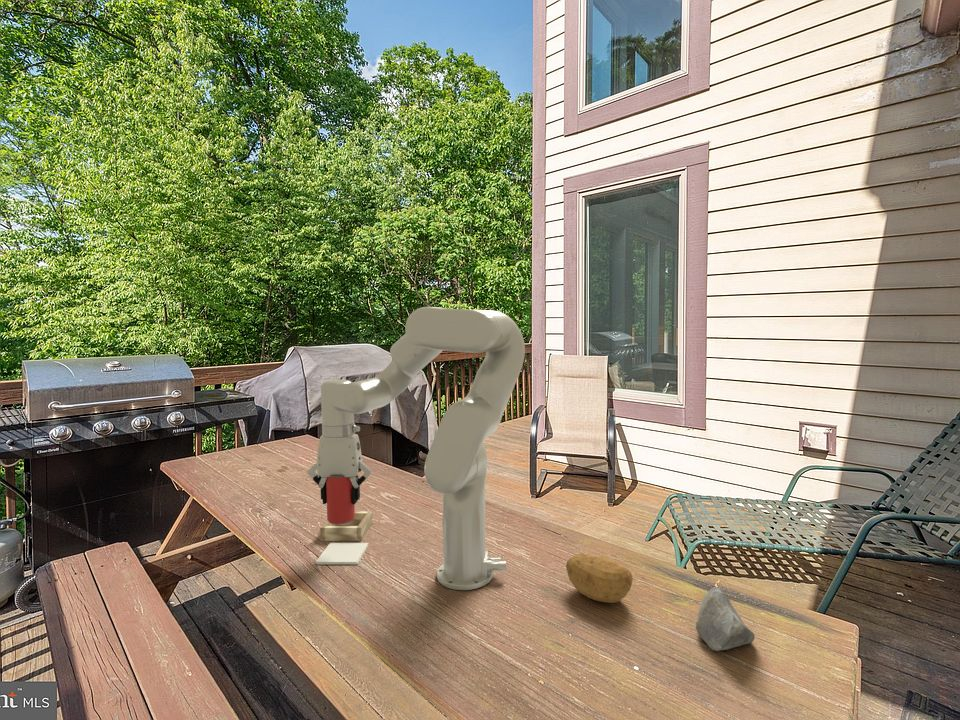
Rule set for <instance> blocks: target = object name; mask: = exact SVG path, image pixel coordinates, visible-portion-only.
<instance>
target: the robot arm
mask: <svg viewBox="0 0 960 720" xmlns="http://www.w3.org/2000/svg"><path fill="white" fill-rule="evenodd" d="M404 327H405V329H404V330H405V333H404V334H403V335H402V336H401V337H400V338H398V340H396V342H394V343H393V344H392V345H391V347H390V349H389V350H390V351H389V353H390V357H391V361H390V363H389V364H387V366H386V367H385V368H384V369H383V370H381V372H380V373H378V374H377V375H376V376H375V377H371V378H367V379H362V380H358V381H353V382H352V381H351V380H348V379H343V378H342V379H339V378H338V379H328V380H324V381H323V382H322V383H321V385H320V404H321V405H320V406H321V407H320V408H321V434H322V435H321V436H319V439H318V448H317V457H316V458H317V459H316V463H314V465H313V466H311V467H310V468H309V469H308V470H307V471H306V473H307V475H308V476H309V477H310V478H311V479H312V480H313V482H314V483H316V484H317V485H318V488H320V499H321V500H322V505H327V496H326V481H327V478H328V477H330V475H332V476H342V475H344V477H347V478H349V479H350V481H351V483H352V485H353V488H352V489H351V495H352V504H354V505H356V503H357V502H358V501H359V500H360V498H361V488H360V487H361V485H362V484H363V483H364V482H365V481H366V479H368V477H369V476H370V475H371V474H372V472H373V470H372V468H370V467H369V465H367V464H366V463H365V462H364V461H363V456H362V449H361V443H360V437H359V435H358V434H356V433H357V432H361V426H360V425H356V423H355V415H360V414H364V413H369V412H371V411H373V410H377V409H380V408H383V407H385V406H387V405H389V404H390V403H392V401H394V400H395V399H396V398H397V397H398V396H400V395H401V394H402V393H403V392H405V390H406V389H407V388H408V387H409V386H410V385H411V384H412V383H413V382H414V379H415V378H416V377H417V374H419V373H420V372H421V371H422V370H423V369H424V368H425V367H426V366H428V364H429V363H431V362H432V361H433V360H435V359H436V357H438V356H439V355H440V354H441V353H442V352H443V351H444V352H445V351H447V352H458V353H469V354H471V353H472V354H479V353H485V356H484V359H483V361H482V363H481V364H480V365H479V368H478V370H477V372H476V374H475V377H474V380H473V381H472V382H473V383H472V385H471V387H470V389H469V391H468V393H467V395H466V396H465V397H463V398H461V399H459V400H458V401H456V402H453V403H452V404H451V405H450V406H449V407H448V408H447V410H446V411H445V412H444V414H443V416H442V418H441V419H440V423H439V424H438V427H437V430H436V432H435V435H434V437H433V440H432V442H431V445H430V446H429V450H428V452H427V455H426V458H425V462H424V465H423V466H424V469H423V471H424V478H425V481H426V482H427V484H428V486H429V487H430V488H431V489H432V490H434V491H435V492H437V493H439V494H441V495H442V500H441V501H442V502H441V503H442V505H441V506H442V549H443V551H442V552H443V563H442V564H441V565H440V566H439V567H438V568H437V570H436V579H437V581H438V582H439V583H440V584H441V585H442V586H444V587H446V588H447V589H448V588H449V589H450V590H457V591H471V590H475V589H479V588H481V587H484V586H486V585H487V584H488V583H490V582H491V580H492V579H493V577H494V572H496V571H497V572H507V561H501V557H491V556H488V554H489V553H488V550H486V548H487V545H486V544H487V543H486V542H487V541H486V483H487V482H486V481H487V473H488V454H487V450H486V447H485V446H484V444H483V442H484V441H485V440H486V439H488V438H489V437H490V436H492V435H493V434H494V433H495V432H496V431H497V430H498V428H499V426H500V424H501V421H502V418H503V416H504V413H505V411H506V408H507V406H508V404H509V401H510V398H511V396H512V393H513V391H514V388H515V385H516V383H517V381H518V378H519V376H520V373H521V371H522V368H523V364H524V360H525V355H526V354H525V353H526V347H525V340H524V337H523V333H522V331H521V330H520V328H519V326H518V325H517V323H516V322H515V321H514V320H513V319H512V318H511V317H510V316H509V315H507V314H505V313H503V312H501V311H497V310H489V309H488V310H485V309H464V308H463V309H461V308H445V307H438V306H422V307H419V308H416V309H415V310H414V311H412V312H411V313H410V314H409V316H408V318H407V319H406V322H405V326H404ZM360 472H363V474H362V475H361V476H359V473H360Z"/></svg>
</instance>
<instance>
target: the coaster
mask: <svg viewBox="0 0 960 720" xmlns="http://www.w3.org/2000/svg"><path fill="white" fill-rule="evenodd" d="M368 547H369V542H330V543H329V544H328V545H327V546H326V548H325V549H324V550H323V552H322V553H321V554H320V556H319V557H318V558H317V559H316V560H315V565H358V564H359V562H360V560H361V559H362V557H363V555H364V554H365V552H366V550H367V549H368Z"/></svg>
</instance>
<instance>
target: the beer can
mask: <svg viewBox="0 0 960 720" xmlns="http://www.w3.org/2000/svg"><path fill="white" fill-rule="evenodd" d="M352 488H353V485H352V483H351V481H350V479H349V478H347V477H344V475H342V476H332V475H330V477H328V478H327V481H326V496H327V503H326V517H327V518H326V520H328V522H329V523H331V524H345V523H348V522H350V521H352V520H353V519H354V518H355V512H356V511H355V510H356V509H355V504H352V495H351V489H352Z"/></svg>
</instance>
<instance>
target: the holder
mask: <svg viewBox="0 0 960 720" xmlns="http://www.w3.org/2000/svg"><path fill="white" fill-rule="evenodd" d="M372 525H373V511H355V518H354V519H353V520H352V521H350V522H348V523H345V524H331V523H329V522H328V520H327V519H326V520H325V522H323V524H322V525H321V526H320V527H319V534H320V536H319V537H320V542H321V541H324V542H330V541H331V542H332V541H333V542H335V541H336V542H342V541H343V542H344V541H345V542H351V541H352V542H360V541H361V542H362V541H363V540H364V538H365V536H366V535H367V533H368V531H369V530H370V529H371V526H372Z"/></svg>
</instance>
